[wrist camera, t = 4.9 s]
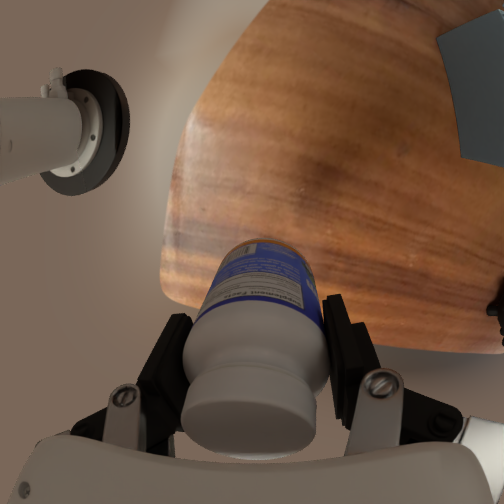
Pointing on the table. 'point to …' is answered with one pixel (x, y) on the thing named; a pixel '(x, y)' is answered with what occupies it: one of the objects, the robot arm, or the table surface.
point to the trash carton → (477, 85)
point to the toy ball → (498, 314)
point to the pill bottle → (256, 355)
